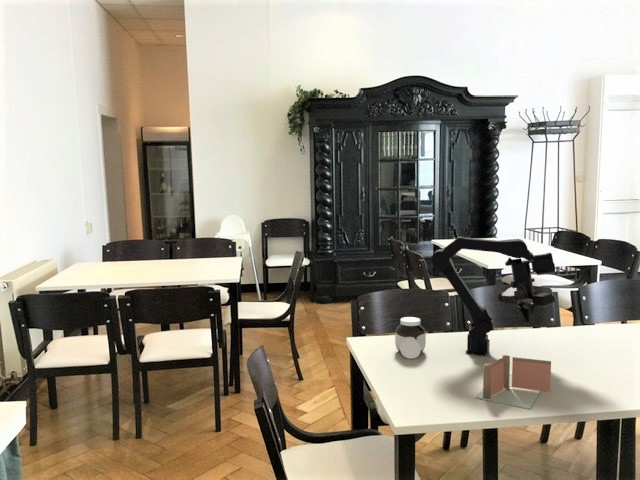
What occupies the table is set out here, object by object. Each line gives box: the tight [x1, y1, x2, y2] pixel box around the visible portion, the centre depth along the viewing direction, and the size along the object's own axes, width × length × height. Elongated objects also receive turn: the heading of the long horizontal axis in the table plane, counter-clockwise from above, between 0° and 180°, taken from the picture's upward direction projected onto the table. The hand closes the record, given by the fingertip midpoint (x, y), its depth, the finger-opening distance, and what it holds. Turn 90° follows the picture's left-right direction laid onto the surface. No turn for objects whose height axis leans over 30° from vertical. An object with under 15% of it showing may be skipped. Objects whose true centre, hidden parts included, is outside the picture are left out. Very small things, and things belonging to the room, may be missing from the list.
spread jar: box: [394, 316, 427, 360], centre depth 183 cm, size 12×11×12 cm
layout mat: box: [474, 373, 542, 410], centre depth 151 cm, size 14×22×1 cm, turn 147°
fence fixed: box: [482, 358, 512, 399], centre depth 149 cm, size 6×13×10 cm, turn 147°
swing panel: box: [501, 354, 552, 393], centre depth 150 cm, size 13×2×9 cm, turn 67°
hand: (528, 322), depth 178 cm, fingers closed
